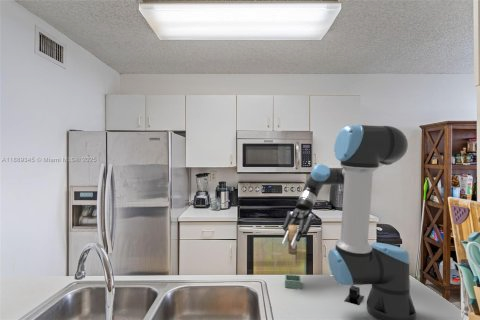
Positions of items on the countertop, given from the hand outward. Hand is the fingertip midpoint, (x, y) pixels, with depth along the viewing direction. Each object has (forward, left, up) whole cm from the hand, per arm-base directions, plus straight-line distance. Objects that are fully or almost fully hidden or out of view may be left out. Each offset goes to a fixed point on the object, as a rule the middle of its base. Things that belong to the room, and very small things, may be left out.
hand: (288, 245), depth 116 cm
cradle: (+3, -2, -17) cm, 18 cm away
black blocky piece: (-5, -25, -18) cm, 32 cm away
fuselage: (+3, -2, -4) cm, 6 cm away
